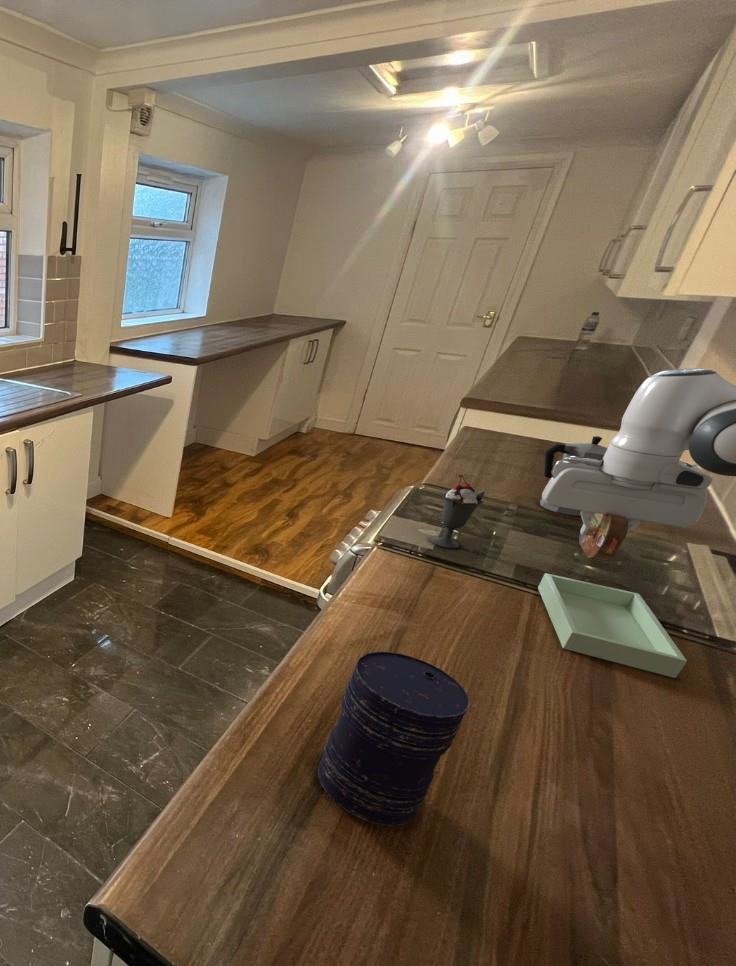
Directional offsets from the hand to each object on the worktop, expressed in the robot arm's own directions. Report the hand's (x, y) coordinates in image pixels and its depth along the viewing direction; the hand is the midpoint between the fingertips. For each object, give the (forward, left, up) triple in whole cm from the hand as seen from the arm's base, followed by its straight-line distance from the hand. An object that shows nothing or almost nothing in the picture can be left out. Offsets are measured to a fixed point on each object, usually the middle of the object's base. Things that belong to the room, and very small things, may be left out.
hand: (599, 536), depth 106 cm
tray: (+1, +21, -8) cm, 23 cm away
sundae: (+21, -2, -8) cm, 23 cm away
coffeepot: (-4, -42, -8) cm, 43 cm away
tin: (0, 0, -3) cm, 3 cm away
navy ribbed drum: (+32, +78, -8) cm, 85 cm away
